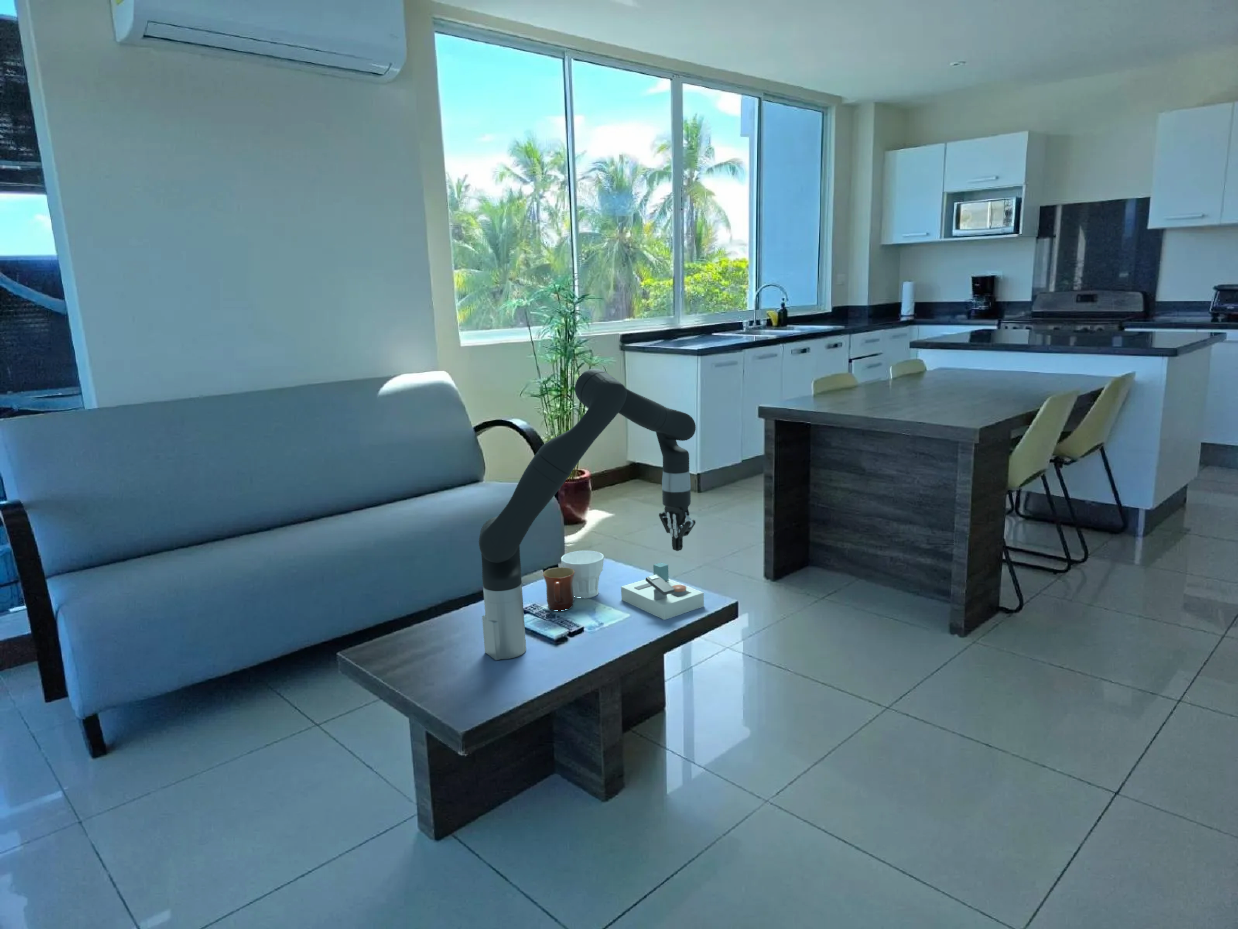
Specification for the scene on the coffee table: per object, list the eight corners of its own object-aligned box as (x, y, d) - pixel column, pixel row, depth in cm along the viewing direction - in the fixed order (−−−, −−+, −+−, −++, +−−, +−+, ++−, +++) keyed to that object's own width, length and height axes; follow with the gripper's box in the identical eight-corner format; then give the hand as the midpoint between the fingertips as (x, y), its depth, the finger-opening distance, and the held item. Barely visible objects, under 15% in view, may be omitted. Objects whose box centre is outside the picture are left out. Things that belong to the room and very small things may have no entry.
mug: (546, 602, 224) (544, 567, 222) (577, 601, 223) (575, 566, 221) (541, 618, 212) (539, 582, 210) (574, 618, 212) (572, 581, 210)
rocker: (663, 595, 208) (664, 591, 207) (645, 580, 213) (646, 576, 213) (674, 592, 210) (675, 588, 209) (655, 577, 215) (656, 573, 215)
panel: (664, 619, 208) (663, 594, 207) (621, 599, 223) (620, 576, 222) (703, 606, 216) (703, 582, 215) (660, 588, 231) (659, 565, 230)
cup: (581, 604, 221) (579, 567, 219) (554, 594, 230) (551, 557, 228) (614, 592, 229) (612, 556, 227) (586, 582, 238) (585, 547, 236)
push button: (678, 609, 214) (678, 591, 213) (668, 605, 217) (668, 587, 216) (689, 605, 216) (689, 587, 215) (680, 601, 219) (679, 583, 218)
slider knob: (660, 582, 223) (659, 567, 222) (653, 579, 225) (653, 564, 224) (668, 579, 225) (668, 564, 224) (661, 577, 227) (661, 562, 226)
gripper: (703, 489, 207) (704, 552, 211) (671, 481, 218) (672, 541, 221) (682, 494, 203) (682, 558, 206) (649, 485, 213) (651, 547, 217)
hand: (677, 549), depth 214 cm, fingers closed
